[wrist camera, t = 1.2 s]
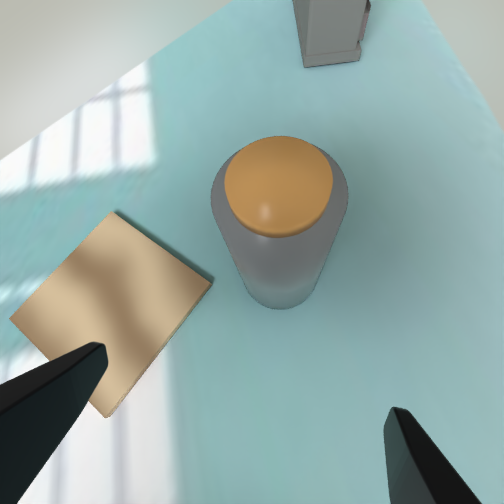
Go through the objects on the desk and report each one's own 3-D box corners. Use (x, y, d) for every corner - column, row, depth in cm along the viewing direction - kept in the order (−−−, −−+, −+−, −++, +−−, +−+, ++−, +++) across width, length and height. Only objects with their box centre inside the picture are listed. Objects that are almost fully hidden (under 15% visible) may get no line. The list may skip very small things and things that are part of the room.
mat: (109, 416, 21) (105, 418, 21) (15, 319, 25) (8, 318, 24) (212, 284, 24) (210, 282, 24) (114, 214, 28) (111, 211, 27)
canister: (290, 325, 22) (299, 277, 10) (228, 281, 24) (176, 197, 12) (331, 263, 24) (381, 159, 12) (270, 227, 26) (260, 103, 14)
